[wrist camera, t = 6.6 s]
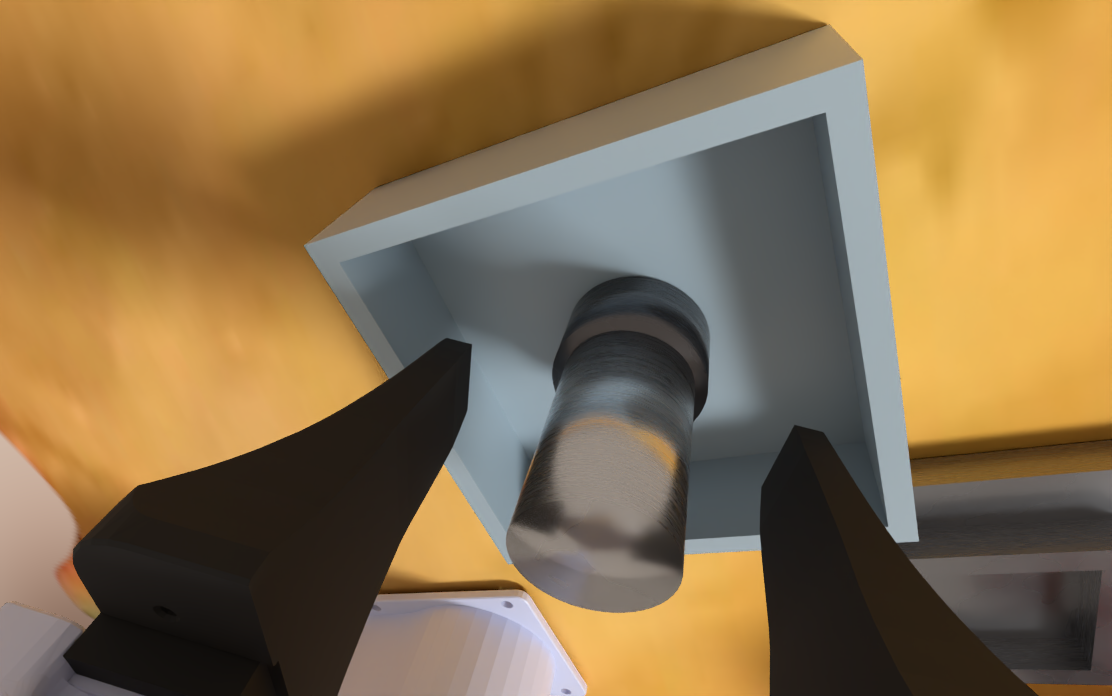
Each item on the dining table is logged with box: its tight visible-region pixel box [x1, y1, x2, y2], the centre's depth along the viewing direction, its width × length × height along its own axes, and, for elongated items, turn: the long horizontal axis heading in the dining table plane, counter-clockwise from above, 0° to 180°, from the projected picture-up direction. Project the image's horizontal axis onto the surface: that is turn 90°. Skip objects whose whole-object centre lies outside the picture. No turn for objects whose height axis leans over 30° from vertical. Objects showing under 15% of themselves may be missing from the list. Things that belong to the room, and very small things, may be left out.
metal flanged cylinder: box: [506, 276, 710, 613], centre depth 14 cm, size 4×4×7 cm
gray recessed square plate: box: [897, 440, 1112, 685], centre depth 19 cm, size 10×10×2 cm
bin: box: [304, 24, 919, 564], centre depth 15 cm, size 11×11×4 cm
